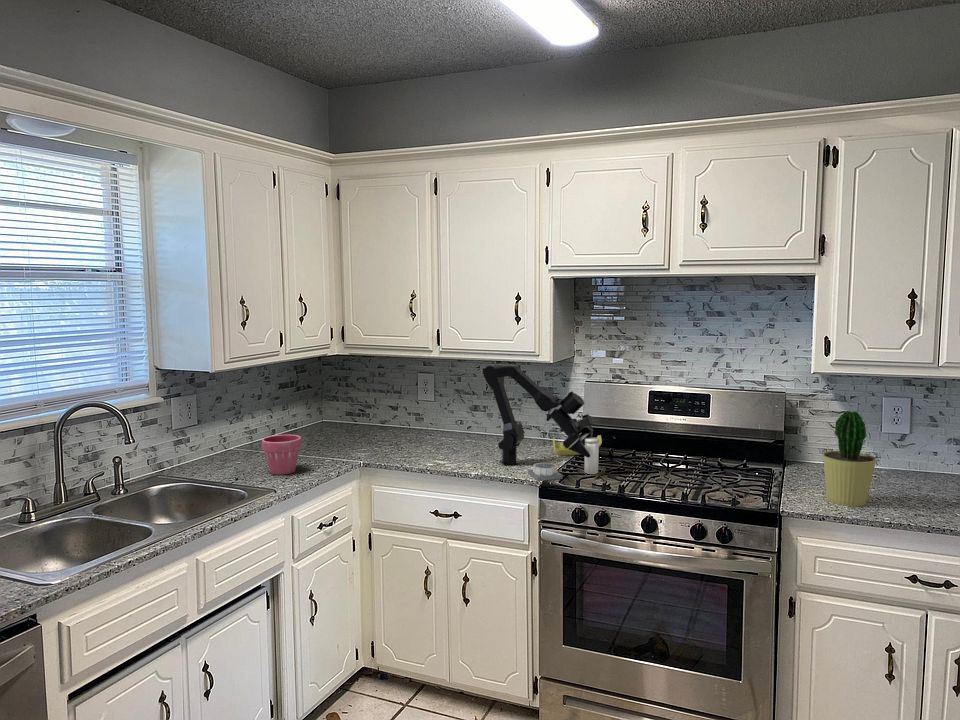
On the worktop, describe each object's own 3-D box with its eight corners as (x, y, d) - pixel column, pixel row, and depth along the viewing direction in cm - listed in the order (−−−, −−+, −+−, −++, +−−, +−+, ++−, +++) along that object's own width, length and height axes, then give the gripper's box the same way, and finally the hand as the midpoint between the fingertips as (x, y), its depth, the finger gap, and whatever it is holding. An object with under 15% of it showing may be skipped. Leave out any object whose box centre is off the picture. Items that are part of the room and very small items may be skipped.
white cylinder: (581, 472, 268) (582, 437, 267) (594, 471, 270) (595, 436, 269) (587, 475, 263) (588, 440, 262) (600, 474, 265) (601, 439, 264)
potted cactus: (871, 497, 237) (876, 407, 234) (876, 510, 223) (881, 415, 220) (819, 491, 243) (824, 404, 240) (821, 504, 229) (825, 411, 226)
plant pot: (258, 469, 272) (257, 436, 270) (295, 465, 279) (294, 432, 277) (268, 478, 259) (267, 443, 258) (306, 473, 267) (305, 439, 265)
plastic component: (554, 450, 293) (552, 435, 302) (554, 464, 297) (553, 449, 306) (603, 447, 292) (600, 432, 300) (603, 461, 296) (600, 446, 304)
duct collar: (527, 474, 266) (527, 463, 265) (552, 472, 268) (552, 461, 268) (537, 480, 256) (537, 470, 256) (562, 478, 259) (562, 467, 259)
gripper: (571, 412, 258) (601, 445, 254) (588, 404, 275) (616, 435, 271) (550, 432, 262) (579, 465, 259) (568, 423, 279) (595, 454, 275)
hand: (593, 454), depth 266 cm, fingers open, 9 cm apart
